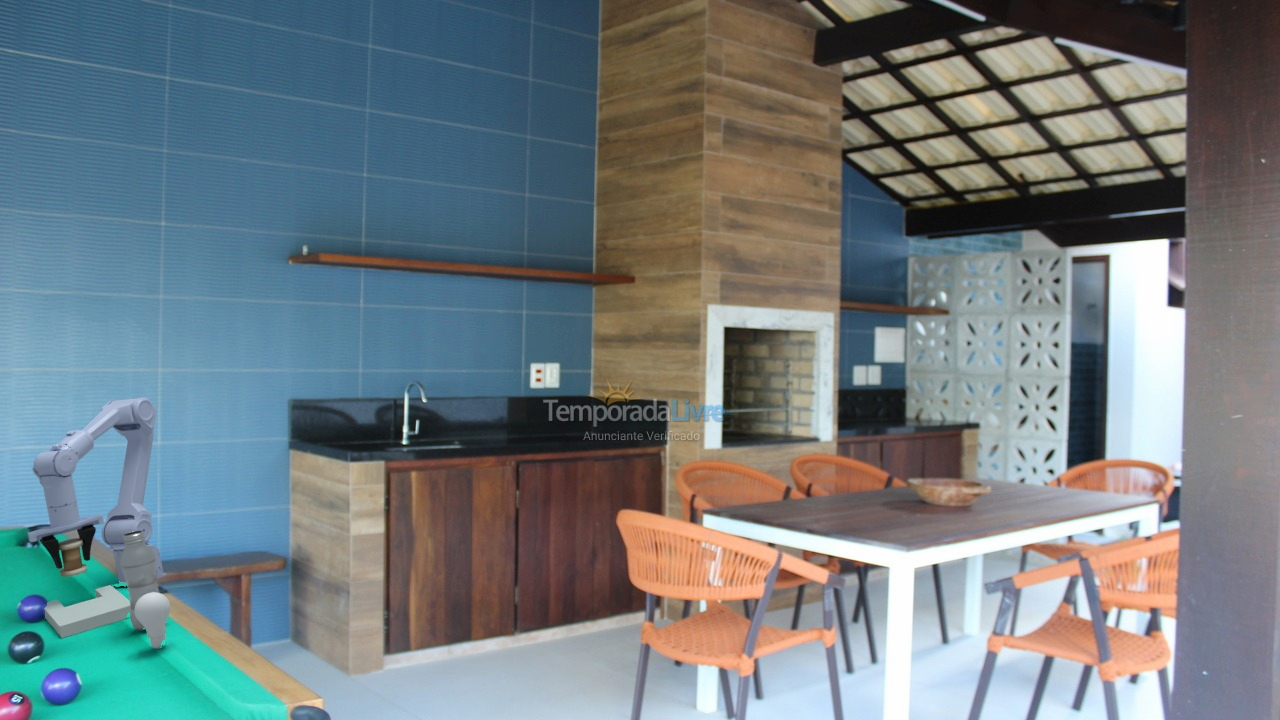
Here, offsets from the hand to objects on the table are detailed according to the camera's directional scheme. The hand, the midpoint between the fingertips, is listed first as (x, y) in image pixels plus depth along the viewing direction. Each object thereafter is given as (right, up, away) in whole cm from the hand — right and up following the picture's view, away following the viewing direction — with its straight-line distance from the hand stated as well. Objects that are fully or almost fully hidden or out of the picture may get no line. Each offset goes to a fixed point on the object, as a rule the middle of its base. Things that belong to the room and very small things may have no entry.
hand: (73, 563), depth 219 cm
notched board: (+6, -10, -4) cm, 13 cm away
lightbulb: (+34, -10, -30) cm, 46 cm away
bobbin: (0, -2, 0) cm, 2 cm away
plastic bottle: (+26, -10, -17) cm, 32 cm away
